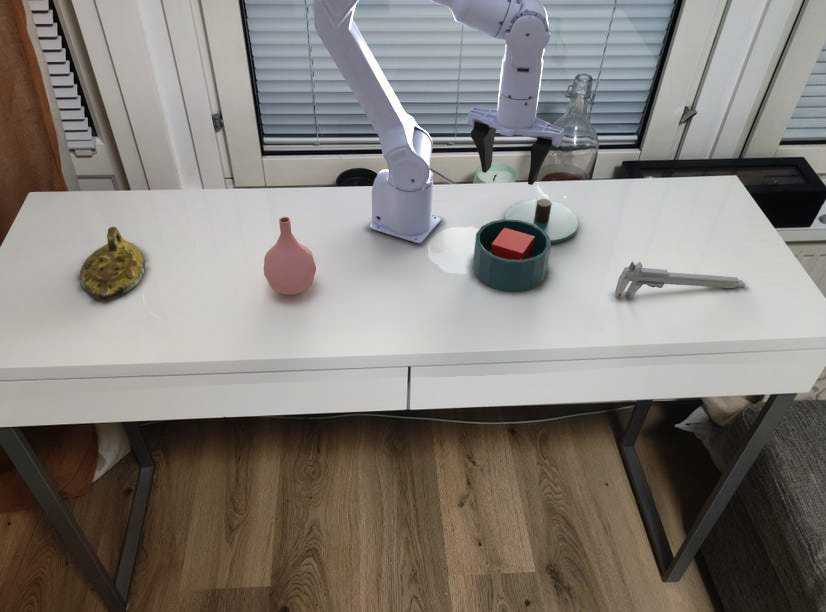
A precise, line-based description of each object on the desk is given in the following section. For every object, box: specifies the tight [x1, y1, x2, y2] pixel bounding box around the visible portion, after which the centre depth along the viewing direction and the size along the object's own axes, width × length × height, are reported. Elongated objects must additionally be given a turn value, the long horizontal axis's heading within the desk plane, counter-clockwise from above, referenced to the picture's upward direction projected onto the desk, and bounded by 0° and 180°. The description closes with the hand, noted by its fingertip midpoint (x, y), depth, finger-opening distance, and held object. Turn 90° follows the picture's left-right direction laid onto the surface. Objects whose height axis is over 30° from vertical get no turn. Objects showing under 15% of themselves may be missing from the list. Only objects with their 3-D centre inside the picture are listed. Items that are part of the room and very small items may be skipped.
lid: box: [504, 198, 579, 244], centre depth 125 cm, size 12×12×4 cm
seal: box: [79, 225, 146, 302], centre depth 115 cm, size 9×5×15 cm
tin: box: [472, 218, 552, 293], centre depth 116 cm, size 11×11×6 cm
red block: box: [491, 228, 535, 260], centre depth 116 cm, size 5×5×5 cm
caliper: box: [614, 260, 746, 299], centre depth 112 cm, size 20×1×6 cm, turn 99°
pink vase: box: [263, 216, 317, 295], centre depth 110 cm, size 8×8×12 cm
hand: (509, 175), depth 118 cm, fingers open, 7 cm apart
